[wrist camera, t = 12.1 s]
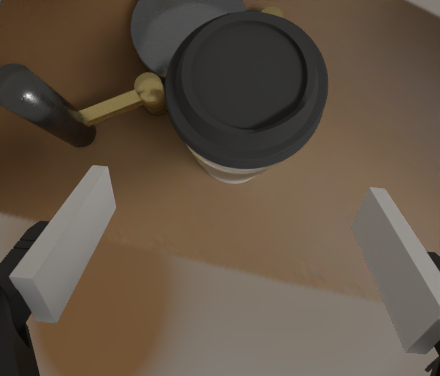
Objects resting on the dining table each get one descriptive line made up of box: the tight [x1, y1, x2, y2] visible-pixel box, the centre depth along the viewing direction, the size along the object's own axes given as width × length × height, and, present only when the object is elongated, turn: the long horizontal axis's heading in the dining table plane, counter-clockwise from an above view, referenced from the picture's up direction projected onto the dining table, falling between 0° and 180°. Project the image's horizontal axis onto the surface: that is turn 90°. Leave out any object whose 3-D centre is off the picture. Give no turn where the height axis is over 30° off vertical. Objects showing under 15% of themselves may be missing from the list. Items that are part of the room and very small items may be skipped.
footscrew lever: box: [0, 64, 167, 147], centre depth 24 cm, size 11×3×10 cm, turn 113°
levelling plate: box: [131, 0, 284, 84], centre depth 29 cm, size 16×12×2 cm
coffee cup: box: [165, 11, 328, 184], centre depth 21 cm, size 9×9×15 cm
